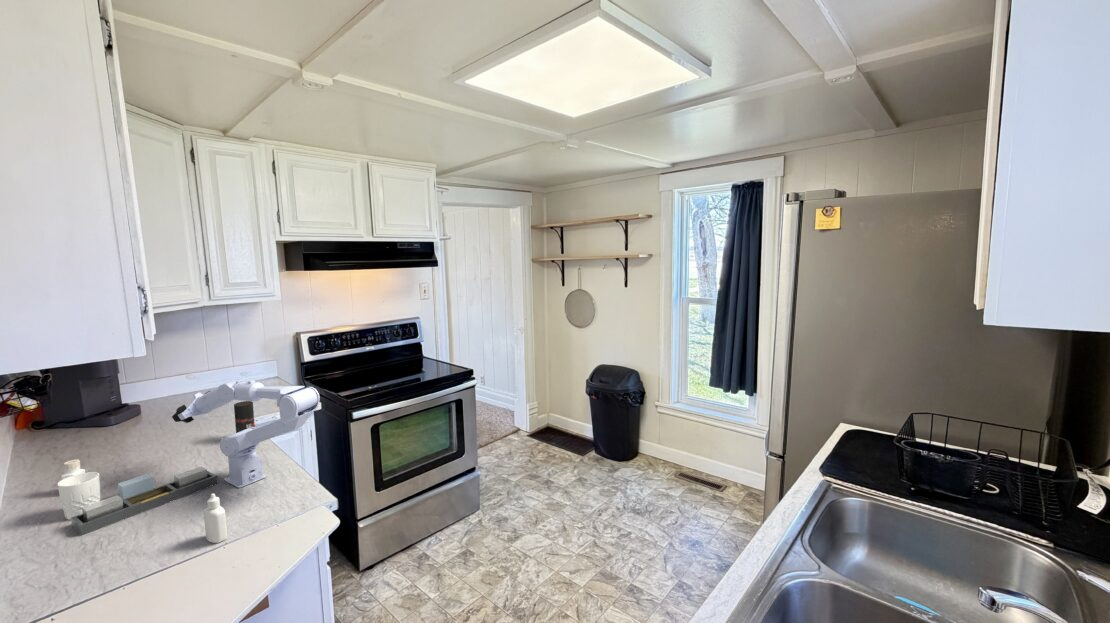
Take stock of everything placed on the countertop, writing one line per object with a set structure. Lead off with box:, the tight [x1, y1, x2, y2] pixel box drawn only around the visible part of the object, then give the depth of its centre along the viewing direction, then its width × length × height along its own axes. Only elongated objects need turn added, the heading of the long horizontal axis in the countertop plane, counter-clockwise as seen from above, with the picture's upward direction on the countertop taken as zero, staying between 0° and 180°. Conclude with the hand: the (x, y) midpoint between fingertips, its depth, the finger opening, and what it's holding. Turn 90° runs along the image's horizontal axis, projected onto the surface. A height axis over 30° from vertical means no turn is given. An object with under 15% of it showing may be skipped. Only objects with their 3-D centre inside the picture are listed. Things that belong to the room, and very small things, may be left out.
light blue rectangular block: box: [117, 473, 155, 499], centre depth 133 cm, size 4×7×4 cm, turn 150°
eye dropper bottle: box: [203, 493, 228, 544], centre depth 113 cm, size 4×6×12 cm
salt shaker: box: [60, 458, 86, 481], centre depth 134 cm, size 4×4×10 cm
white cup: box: [56, 471, 101, 521], centre depth 123 cm, size 8×8×10 cm
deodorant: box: [233, 401, 256, 434], centre depth 170 cm, size 6×6×15 cm
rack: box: [70, 466, 219, 536], centre depth 128 cm, size 7×30×5 cm, turn 150°
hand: (185, 412), depth 146 cm, fingers open, 7 cm apart
